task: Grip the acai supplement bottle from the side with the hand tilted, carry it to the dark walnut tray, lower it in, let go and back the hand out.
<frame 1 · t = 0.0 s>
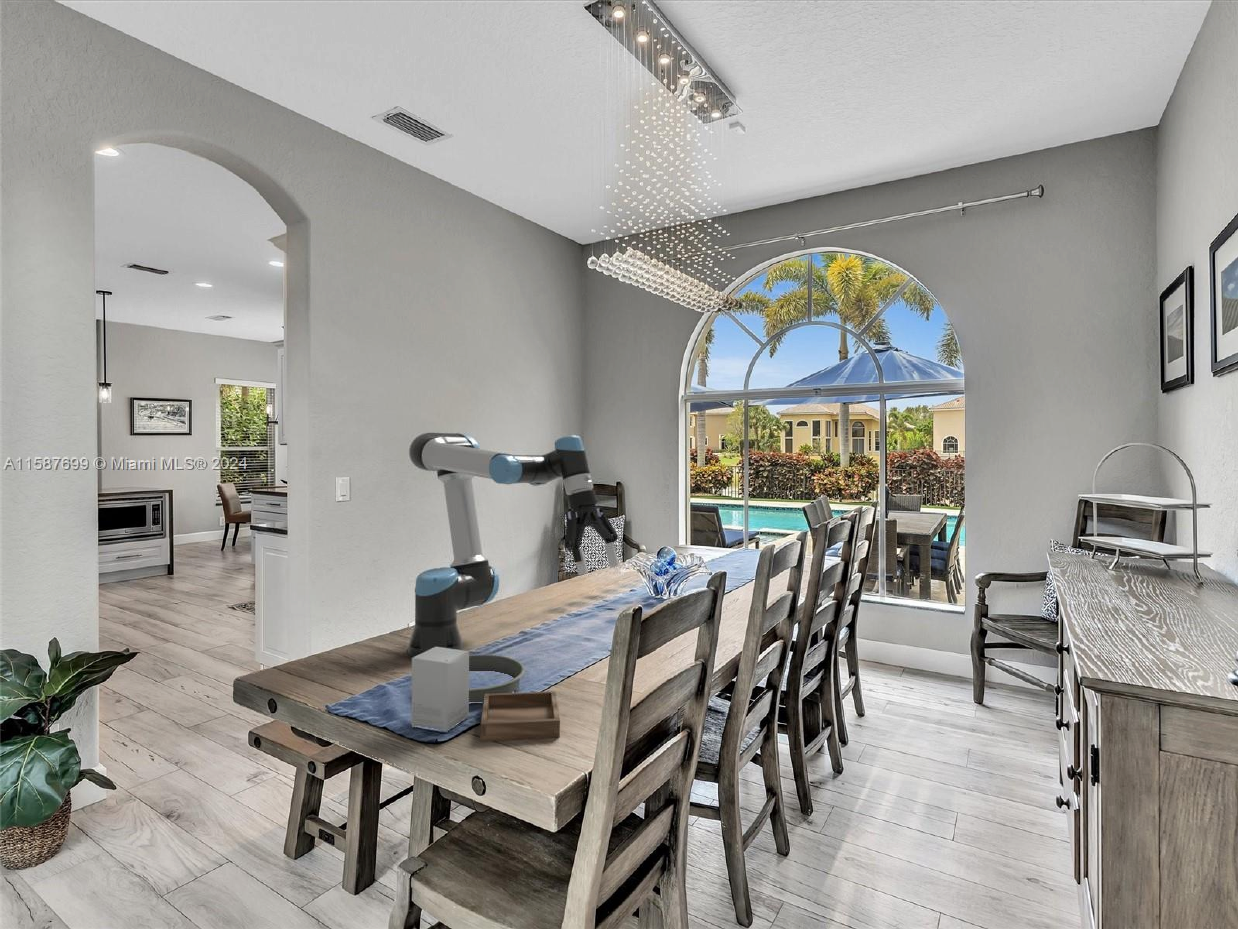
hand: (599, 570, 167), 28 cm above the table, tool tilted 20°, fingers open, 13 cm apart
cake pan: (474, 688, 158), on the table
walnut tray: (520, 722, 138), on the table
supplement box: (440, 723, 137), on the table
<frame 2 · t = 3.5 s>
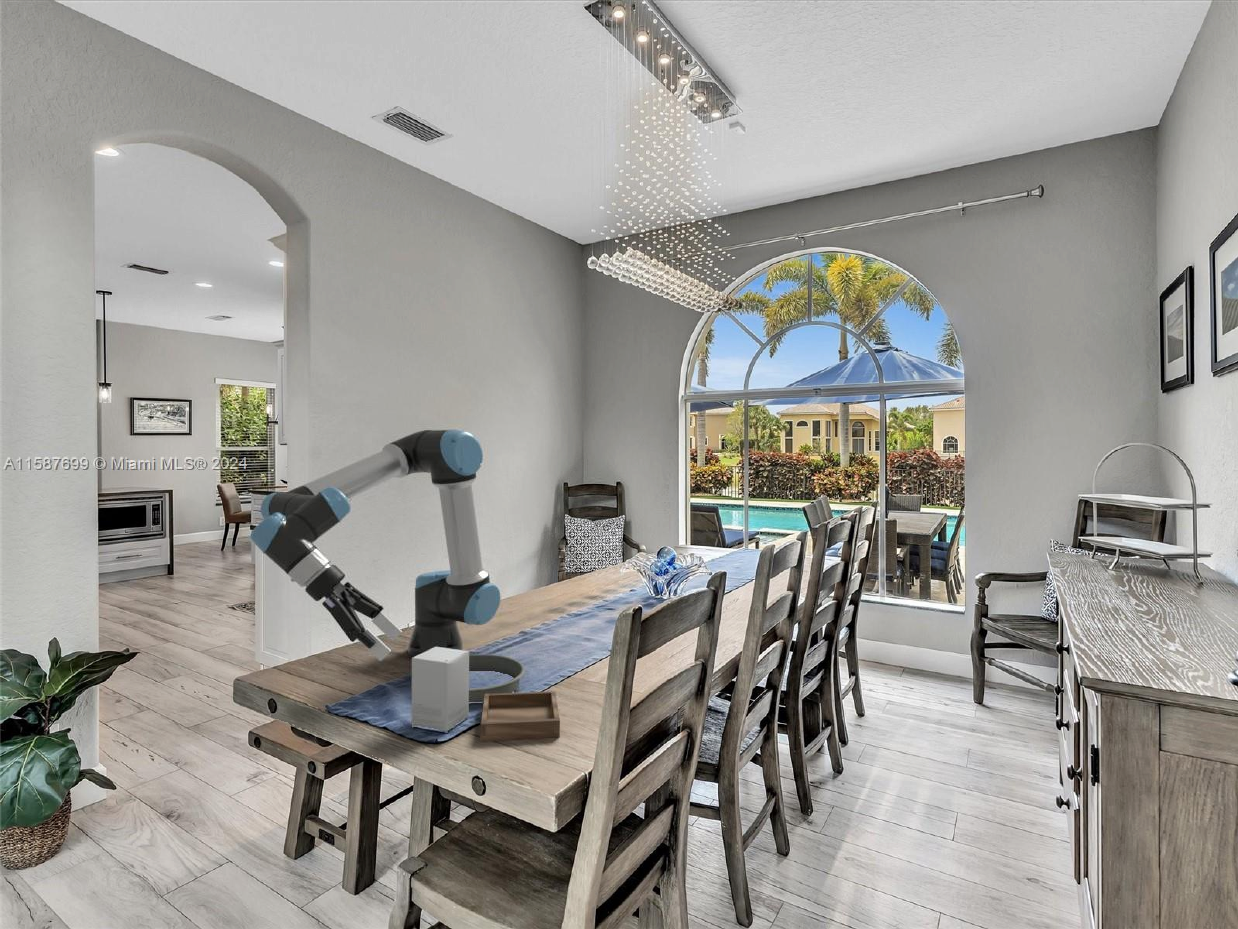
hand: (392, 645, 135), 17 cm above the table, tool tilted 45°, fingers open, 13 cm apart
nothing on the table moved.
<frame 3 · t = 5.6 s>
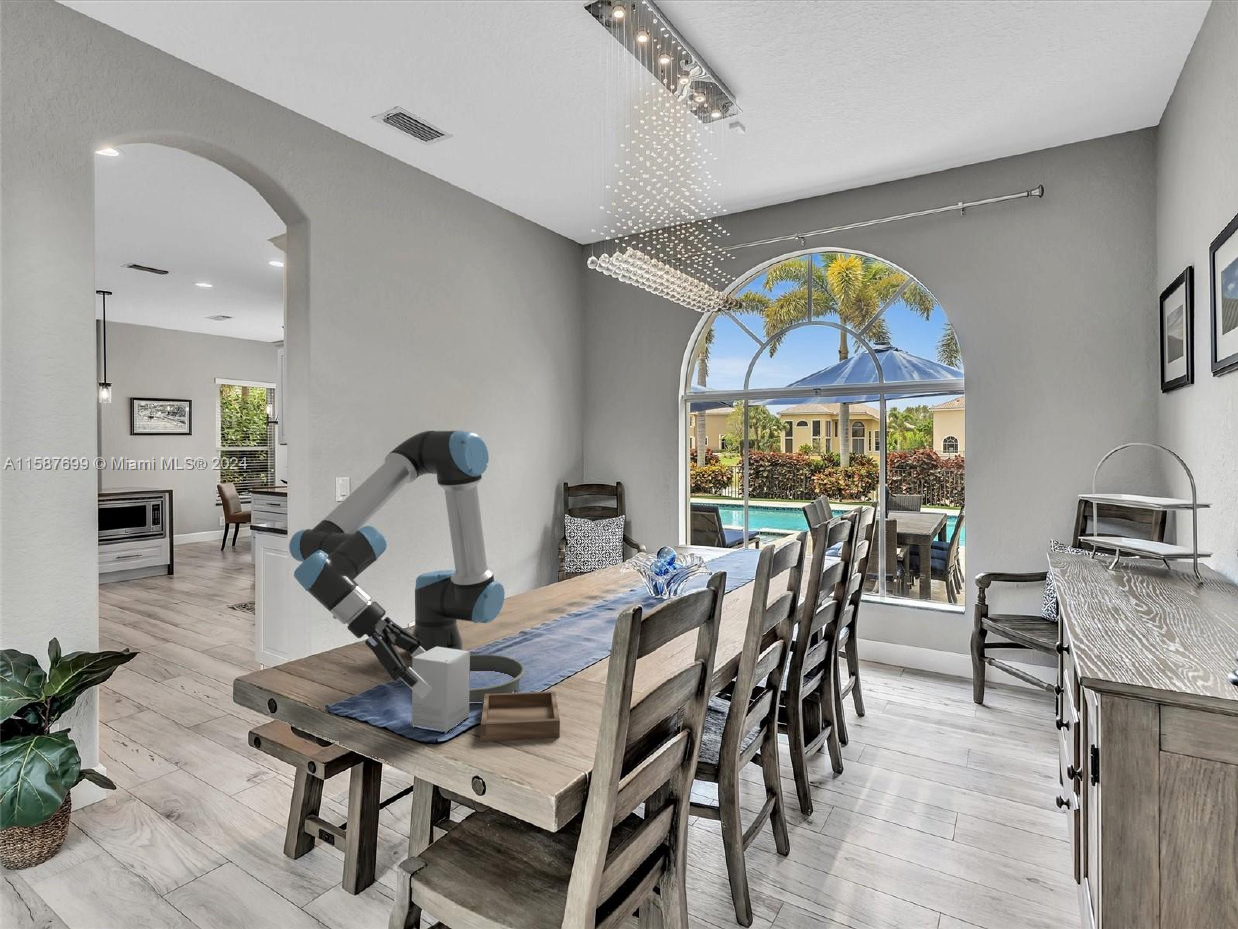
hand: (432, 681, 136), 9 cm above the table, tool tilted 45°, fingers open, 13 cm apart
nothing on the table moved.
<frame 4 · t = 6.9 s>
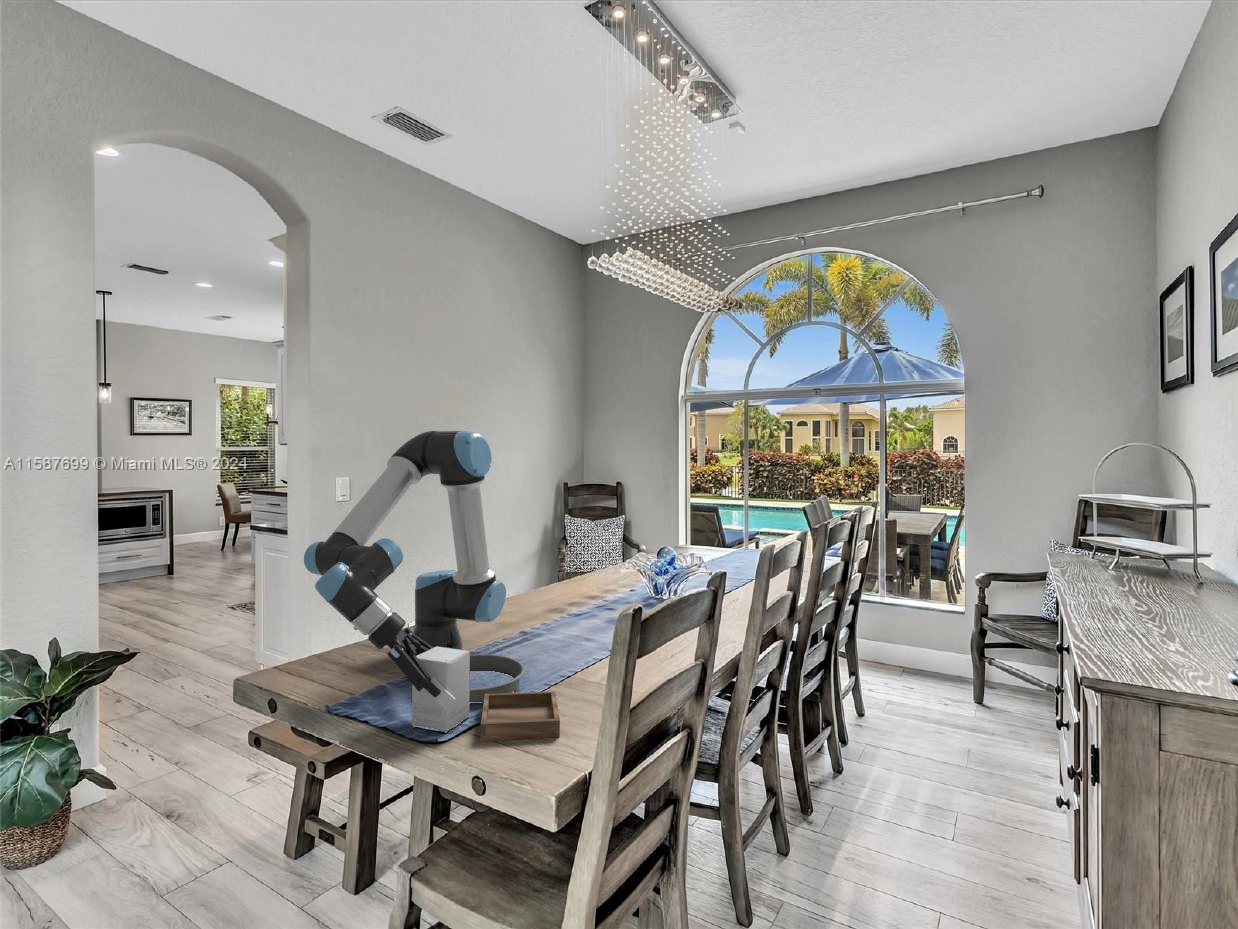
hand: (453, 692, 137), 6 cm above the table, tool tilted 45°, fingers closed on supplement box, 12 cm apart
supplement box: (441, 723, 137), on the table, touching gripper
everything else where it was.
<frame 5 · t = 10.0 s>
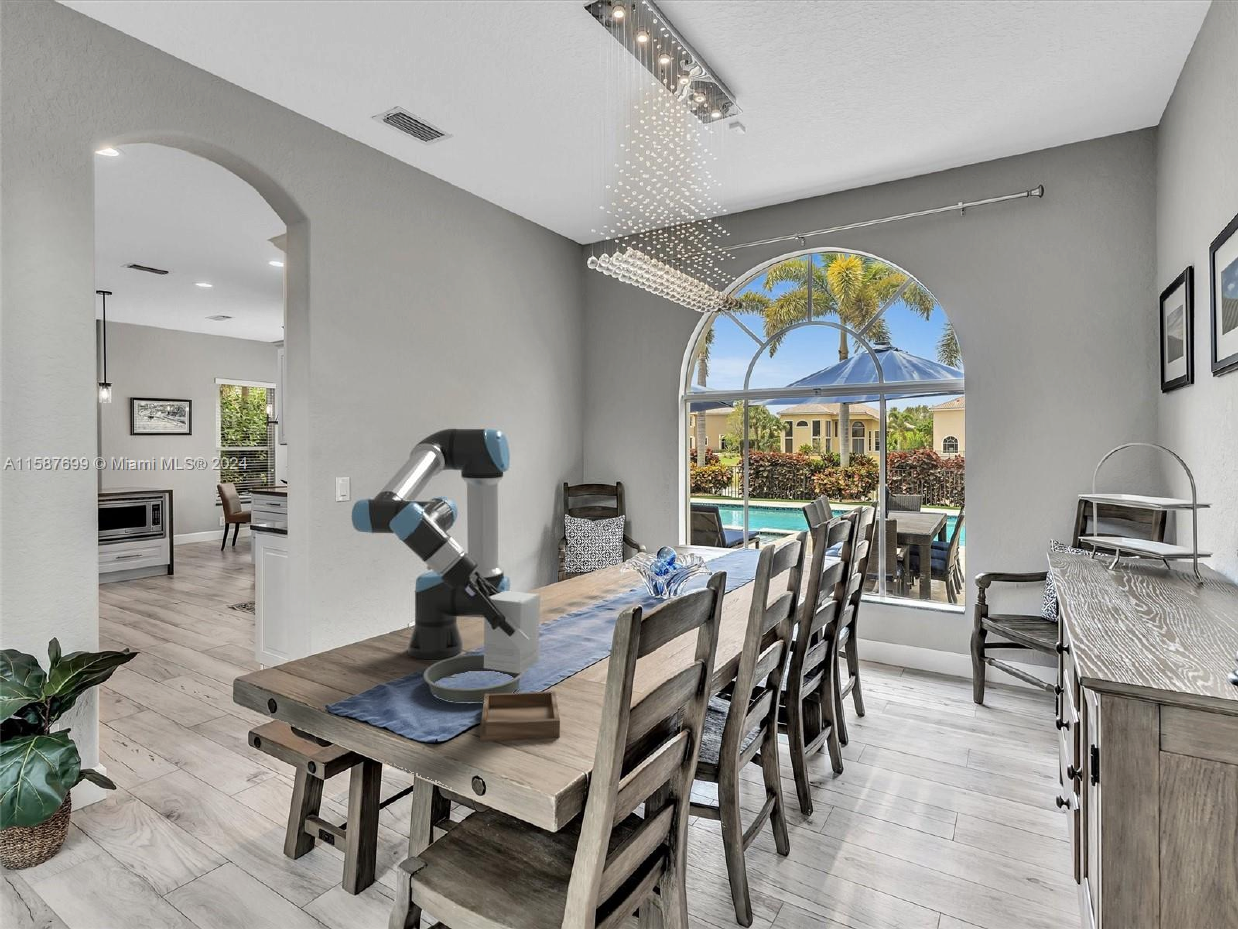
hand: (524, 635, 137), 19 cm above the table, tool tilted 45°, fingers closed on supplement box, 12 cm apart
supplement box: (511, 665, 137), point 13 cm above the table, touching gripper
everything else where it was.
when the fingers open (9 cm above the table, at t = 12.8 s): supplement box drops 1 cm, resting on walnut tray.
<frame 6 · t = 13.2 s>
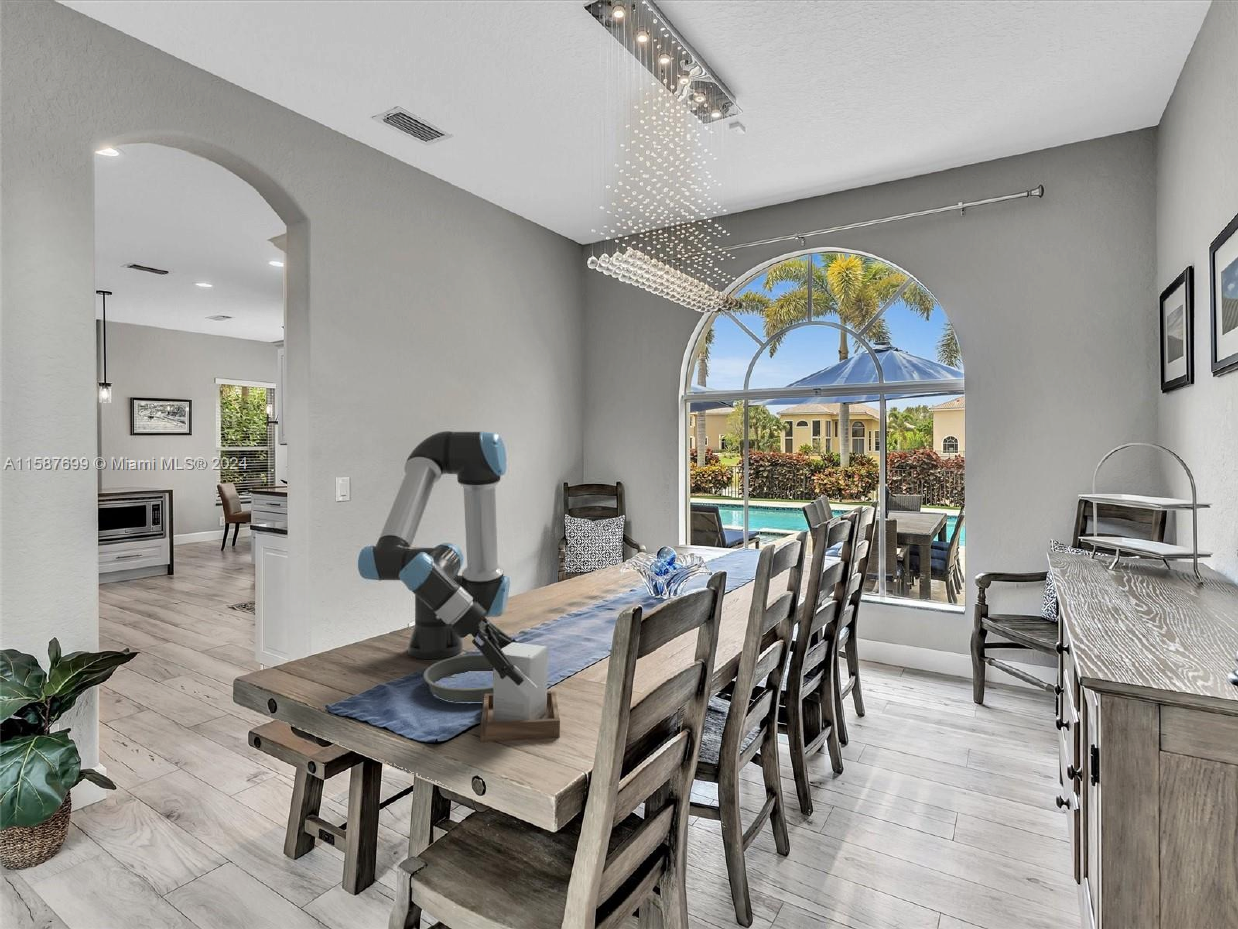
hand: (531, 680, 138), 9 cm above the table, tool tilted 45°, fingers open, 13 cm apart
supplement box: (520, 718, 138), point 1 cm above the table, touching walnut tray
everything else where it was.
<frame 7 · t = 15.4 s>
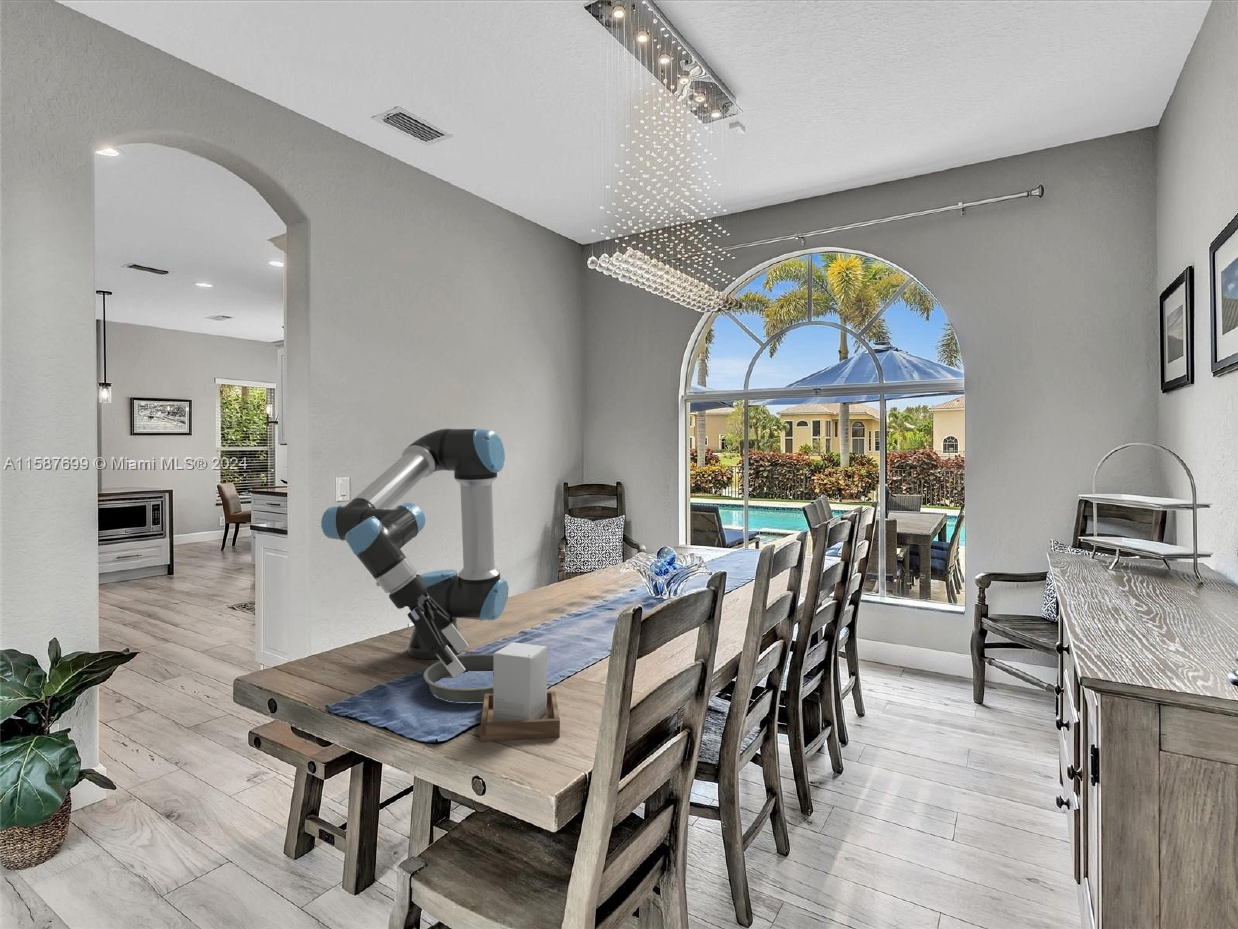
hand: (461, 661, 138), 13 cm above the table, tool tilted 35°, fingers open, 13 cm apart
nothing on the table moved.
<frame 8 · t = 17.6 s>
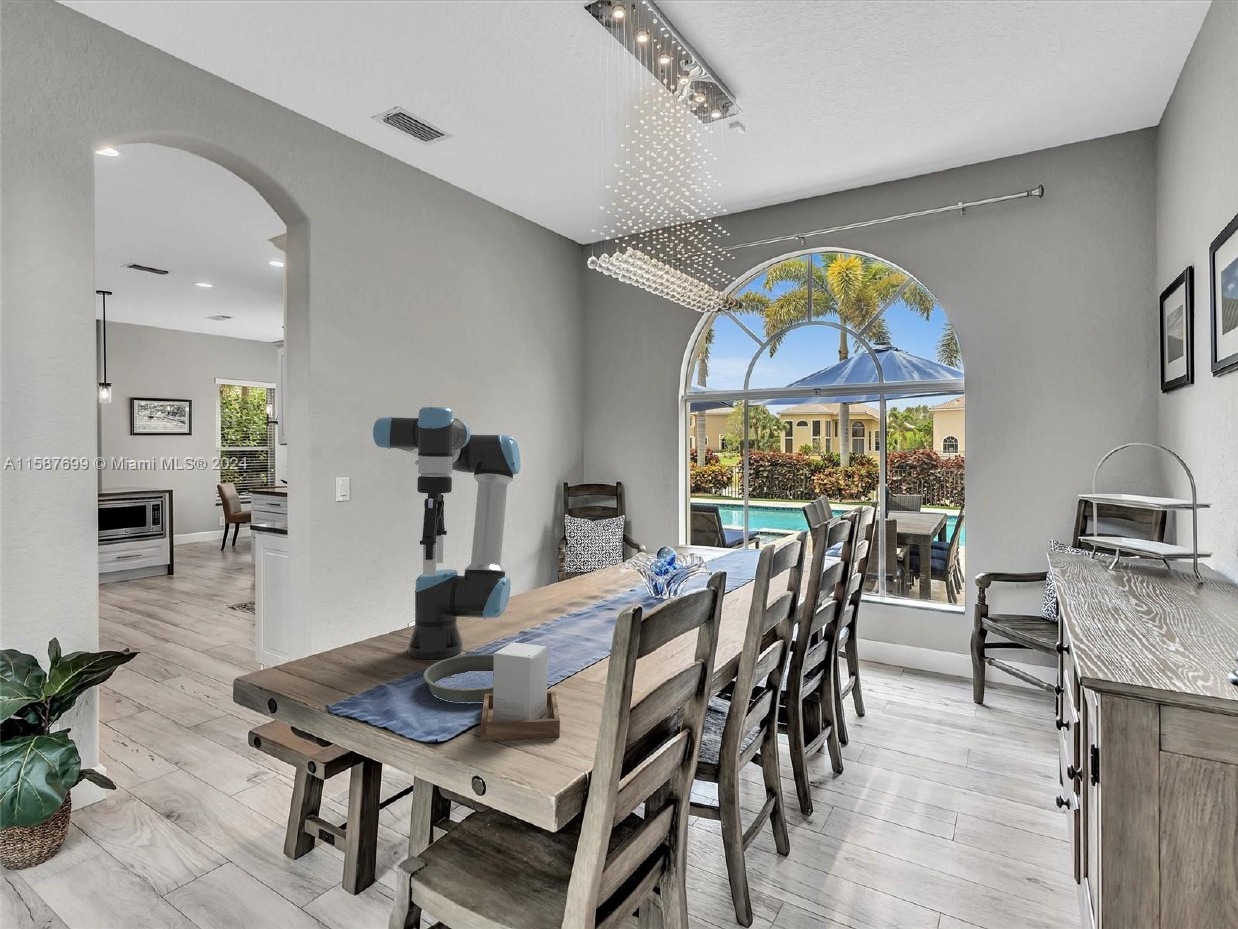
hand: (433, 568, 145), 32 cm above the table, tool pointing down, fingers open, 13 cm apart
nothing on the table moved.
at the end: supplement box inside the target area on the walnut tray (0.3 cm from its centre), point 0.8 cm above the walnut tray's base; supplement box tilted 0°; the gripper is holding nothing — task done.
